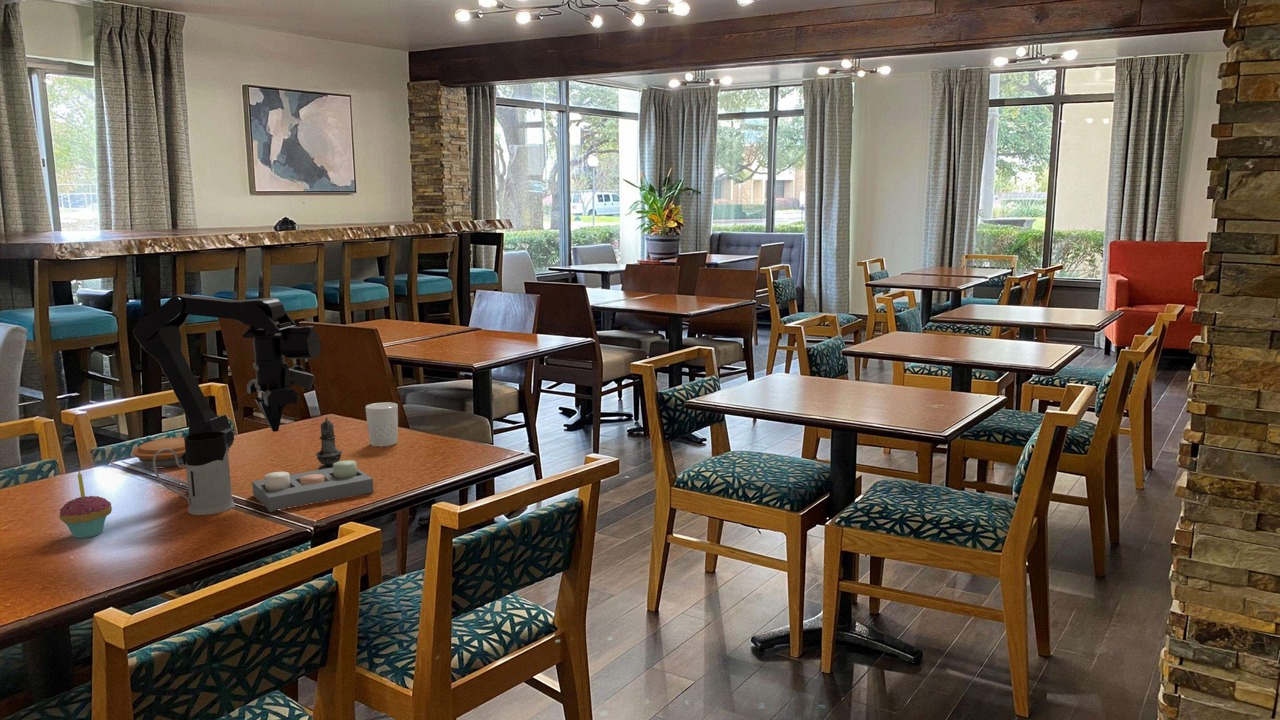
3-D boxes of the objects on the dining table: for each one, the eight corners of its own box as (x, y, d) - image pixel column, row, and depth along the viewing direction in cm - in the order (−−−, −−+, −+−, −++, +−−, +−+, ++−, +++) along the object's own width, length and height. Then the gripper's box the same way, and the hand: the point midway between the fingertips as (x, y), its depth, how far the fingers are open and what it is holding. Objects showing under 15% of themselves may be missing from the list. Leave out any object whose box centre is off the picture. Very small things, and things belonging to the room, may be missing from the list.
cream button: (269, 495, 188) (267, 479, 187) (263, 490, 191) (261, 474, 191) (293, 491, 190) (292, 475, 190) (287, 486, 194) (285, 470, 194)
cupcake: (56, 534, 173) (49, 472, 171) (107, 523, 179) (100, 462, 177) (69, 545, 167) (61, 481, 165) (120, 533, 173) (113, 471, 171)
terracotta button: (304, 497, 192) (303, 482, 191) (298, 492, 196) (297, 476, 195) (328, 493, 195) (327, 477, 194) (321, 488, 198) (320, 472, 198)
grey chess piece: (347, 464, 217) (344, 414, 215) (336, 471, 212) (333, 420, 210) (323, 464, 218) (319, 414, 216) (312, 471, 212) (308, 420, 210)
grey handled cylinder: (241, 508, 186) (235, 435, 184) (165, 524, 177) (157, 448, 175) (226, 498, 193) (220, 428, 190) (152, 513, 184) (144, 440, 181)
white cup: (406, 442, 238) (404, 404, 236) (382, 449, 231) (380, 410, 229) (384, 438, 242) (382, 401, 240) (361, 445, 235) (358, 406, 233)
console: (270, 512, 184) (268, 497, 183) (253, 495, 195) (251, 481, 194) (373, 492, 196) (372, 478, 195) (351, 477, 207) (351, 464, 206)
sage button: (338, 483, 196) (337, 467, 195) (331, 478, 199) (330, 462, 199) (360, 479, 198) (359, 463, 198) (353, 474, 202) (352, 459, 202)
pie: (191, 450, 233) (189, 430, 232) (216, 461, 223) (214, 441, 222) (124, 462, 222) (122, 442, 222) (147, 474, 212) (145, 453, 211)
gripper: (321, 360, 190) (327, 433, 193) (296, 349, 205) (301, 418, 208) (265, 366, 184) (271, 442, 187) (243, 354, 199) (249, 425, 202)
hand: (275, 431), depth 196 cm, fingers closed
